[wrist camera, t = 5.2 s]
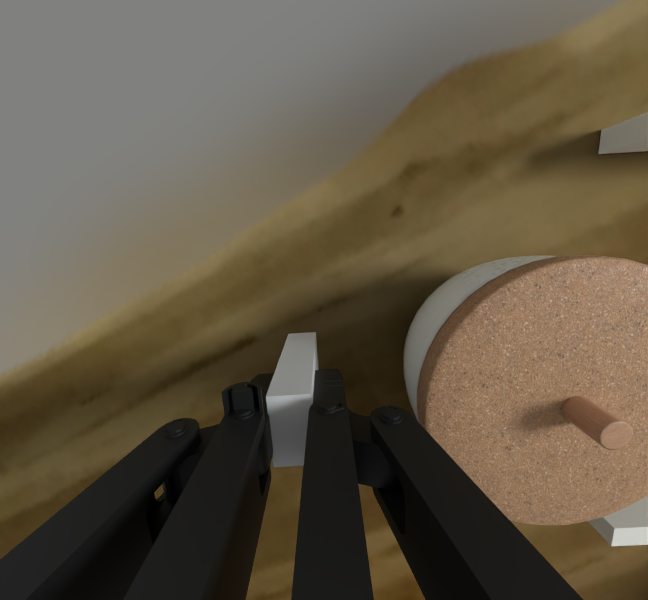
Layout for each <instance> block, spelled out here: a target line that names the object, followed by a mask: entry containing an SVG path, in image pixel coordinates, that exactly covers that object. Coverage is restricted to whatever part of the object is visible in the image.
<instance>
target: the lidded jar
mask: <svg viewBox="0 0 648 600" xmlns="http://www.w3.org/2000/svg"><path fill="white" fill-rule="evenodd" d="M403 368H404V378H405V384H406V390H407V393H408V397H409V401H410V404H411V406H412V409H413V412H414V415H415V417H416V419H417V421H418V422H419V423H420V424H421V425H422V427H423V428H424V429H425V430H426V431H427V432H428V433H429V434H430V435H431V436H432V437H433V438H434V439H435V441H436V442H437V443H438V444H439V445H440V446H441V447H442V448H443V449H444V450H445V451H446V452H447V453H448V455H449V456H450V457H451V458H452V459H453V460H454V461H455V462H456V463H457V464H458V465H459V466H460V468H461V469H462V470H463V471H464V472H465V473H466V474H467V475H468V476H469V477H470V478H471V479H472V480H473V482H474V483H475V484H476V485H477V486H478V487H479V488H480V489H481V490H482V491H483V492H484V493H485V494H486V496H487V497H488V498H489V499H490V500H491V501H492V502H493V503H494V504H495V505H496V506H497V507H498V508H499V510H500V511H501V512H502V513H503V514H504V515H505V516H506V517H507V518H508V519H509V520H511V521H516V522H520V523H524V524H533V525H569V524H574V523H579V522H585V521H590V520H593V519H596V518H600V517H603V516H607V515H610V514H612V513H614V512H617V511H619V510H621V509H623V508H626V507H628V506H630V505H632V504H633V503H635V502H637V501H639V500H640V499H642V498H644V497H646V496H648V265H646V264H642V263H639V262H635V261H632V260H628V259H623V258H614V257H604V256H594V255H574V256H523V257H512V258H505V259H500V260H495V261H491V262H487V263H483V264H480V265H477V266H474V267H472V268H469V269H466V270H464V271H462V272H461V273H459V274H457V275H455V276H453V277H451V278H450V279H449V280H447V281H446V282H445V283H443V284H442V285H441V286H439V287H438V288H437V289H436V290H435V291H434V292H433V293H432V294H431V295H430V296H429V297H428V298H427V299H426V300H425V302H424V303H423V304H422V306H421V307H420V308H419V310H418V311H417V313H416V315H415V317H414V319H413V321H412V323H411V325H410V328H409V331H408V334H407V337H406V341H405V347H404V353H403Z"/></svg>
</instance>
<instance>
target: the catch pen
mask: <svg viewBox="0 0 648 600" xmlns="http://www.w3.org/2000/svg"><path fill="white" fill-rule="evenodd" d="M644 151H648V112H646V113H644V114H641V115H638V116H636V117H633V118H631V119H628V120H625V121H623V122H620V123H618V124H615V125H612V126H610V127H607V128H605V129H602V130H601V136H600V144H599V152H598V154H609V153H626V152H644ZM588 522H589V523H590V524H591V525H592V526H593V527H594V528H595V529H596V530H597V531H598V532H599V533H600V534H601V536H602V537H603V538H604V539H605V540H606V541H607V542H608V543H609V544H610V545H611V546H627V545H648V496H646V497H644V498H642V499H640V500H639V501H637V502H635V503H633V504H632V505H630V506H628V507H626V508H623V509H621V510H619V511H617V512H614V513H612V514H610V515H607V516H603V517H600V518H596V519H593V520H590V521H588Z"/></svg>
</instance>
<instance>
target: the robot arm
mask: <svg viewBox="0 0 648 600" xmlns="http://www.w3.org/2000/svg"><path fill="white" fill-rule="evenodd" d="M222 399H223V406H224V412H225V415H224V417H223V419H222V421H221V423H220V424H217V425H214V426H210V427H206V428H202V429H200V428H199V423H198V422H197V421H196V420H195V419H191V418H182V419H177V420H174V421H172V422H170V423H167V424H165V425H164V426H162V427H161V428H159V429H158V430H157V431H156V432H154V433H153V434H152V435H151V436H149V437H148V438H147V439H146V440H145V441H143V442H142V443H141V444H140V445H139V446H137V447H136V448H135V449H134V450H132V451H131V452H130V453H129V454H128V455H126V456H125V457H124V458H123V459H122V460H120V461H119V462H118V463H117V464H116V465H114V466H113V467H112V468H111V469H109V470H108V471H107V472H106V473H105V474H103V475H102V476H101V477H100V478H99V479H97V480H96V481H95V482H94V483H92V484H91V485H90V486H89V487H88V488H86V489H85V490H84V491H83V492H82V493H80V494H79V495H78V496H77V497H76V498H74V499H73V500H72V501H71V502H69V503H68V504H67V505H66V506H65V507H63V508H62V509H61V510H60V511H59V512H57V513H56V514H55V515H54V516H52V517H51V518H50V519H49V520H48V521H46V522H45V523H44V524H43V525H42V526H40V527H39V528H38V529H37V530H36V531H34V532H33V533H32V534H31V535H29V536H28V537H27V538H26V539H25V540H23V541H22V542H21V543H20V544H19V545H17V546H16V547H15V548H14V549H12V550H11V551H10V552H9V553H8V554H6V555H5V556H4V557H3V558H2V559H0V600H245V599H246V595H247V590H248V585H249V581H250V576H251V571H252V567H253V562H254V557H255V553H256V548H257V543H258V538H259V534H260V529H261V524H262V520H263V515H264V510H265V506H266V501H267V496H268V492H269V487H270V482H271V469H270V463H271V459H272V456H273V465H274V467H287V466H304V468H303V478H302V489H301V500H300V511H299V522H298V533H297V544H296V555H295V566H294V577H293V588H292V598H291V600H374V599H373V591H372V584H371V576H370V569H369V561H368V554H367V546H366V539H365V532H364V524H363V517H362V509H361V502H360V494H359V487H358V483H359V484H363V485H367V486H372V488H373V492H374V495H375V497H376V499H377V501H378V503H379V505H380V507H381V509H382V511H383V513H384V515H385V517H386V519H387V521H388V524H389V526H390V528H391V530H392V532H393V534H394V536H395V538H396V540H397V542H398V544H399V546H400V548H401V550H402V552H403V554H404V556H405V558H406V560H407V562H408V564H409V566H410V568H411V570H412V573H413V575H414V577H415V579H416V581H417V583H418V585H419V587H420V589H421V591H422V593H423V595H424V597H425V599H426V600H583V599H582V598H581V597H580V596H579V595H578V594H577V593H576V592H575V590H574V589H573V588H572V587H571V586H570V585H569V584H568V583H567V582H566V581H565V580H564V579H563V577H562V576H561V575H560V574H559V573H558V572H557V571H556V570H555V569H554V568H553V567H552V566H551V565H550V563H549V562H548V561H547V560H546V559H545V558H544V557H543V556H542V555H541V554H540V553H539V552H538V551H537V549H536V548H535V547H534V546H533V545H532V544H531V543H530V542H529V541H528V540H527V539H526V538H525V537H524V535H523V534H522V533H521V532H520V531H519V530H518V529H517V528H516V527H515V526H514V525H513V524H512V523H511V521H510V520H509V519H508V518H507V517H506V516H505V515H504V514H503V513H502V512H501V511H500V510H499V508H498V507H497V506H496V505H495V504H494V503H493V502H492V501H491V500H490V499H489V498H488V497H487V496H486V494H485V493H484V492H483V491H482V490H481V489H480V488H479V487H478V486H477V485H476V484H475V483H474V482H473V480H472V479H471V478H470V477H469V476H468V475H467V474H466V473H465V472H464V471H463V470H462V469H461V468H460V466H459V465H458V464H457V463H456V462H455V461H454V460H453V459H452V458H451V457H450V456H449V455H448V453H447V452H446V451H445V450H444V449H443V448H442V447H441V446H440V445H439V444H438V443H437V442H436V441H435V439H434V438H433V437H432V436H431V435H430V434H429V433H428V432H427V431H426V430H425V429H424V428H423V427H422V425H421V424H420V423H419V422H418V421H417V420H416V419H415V418H414V417H413V416H412V415H411V414H410V413H409V412H408V411H406V410H405V409H402V408H400V407H396V406H382V407H379V408H376V409H375V410H374V411H373V412H372V413H371V415H370V417H365V416H361V415H357V414H355V413H353V412H352V411H350V410H349V409H348V407H347V405H346V399H345V391H344V384H343V376H342V373H341V372H340V371H339V370H337V369H327V370H319V369H318V355H317V340H316V332H308V333H291V334H288V337H287V339H286V342H285V345H284V348H283V350H282V353H281V356H280V359H279V361H278V364H277V367H276V370H275V373H272V374H259V375H257V376H256V377H255V378H254V379H252V380H251V382H242V383H237V384H234V385H231V386H229V387H228V388H226V389H225V390H224V391H223V392H222ZM161 484H162V486H163V490H164V493H163V494H162V495H161V496H160V497H159V498H158V499H155V496H154V492H155V491H156V490H157V489H158V488H159V487H160V485H161Z"/></svg>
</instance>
